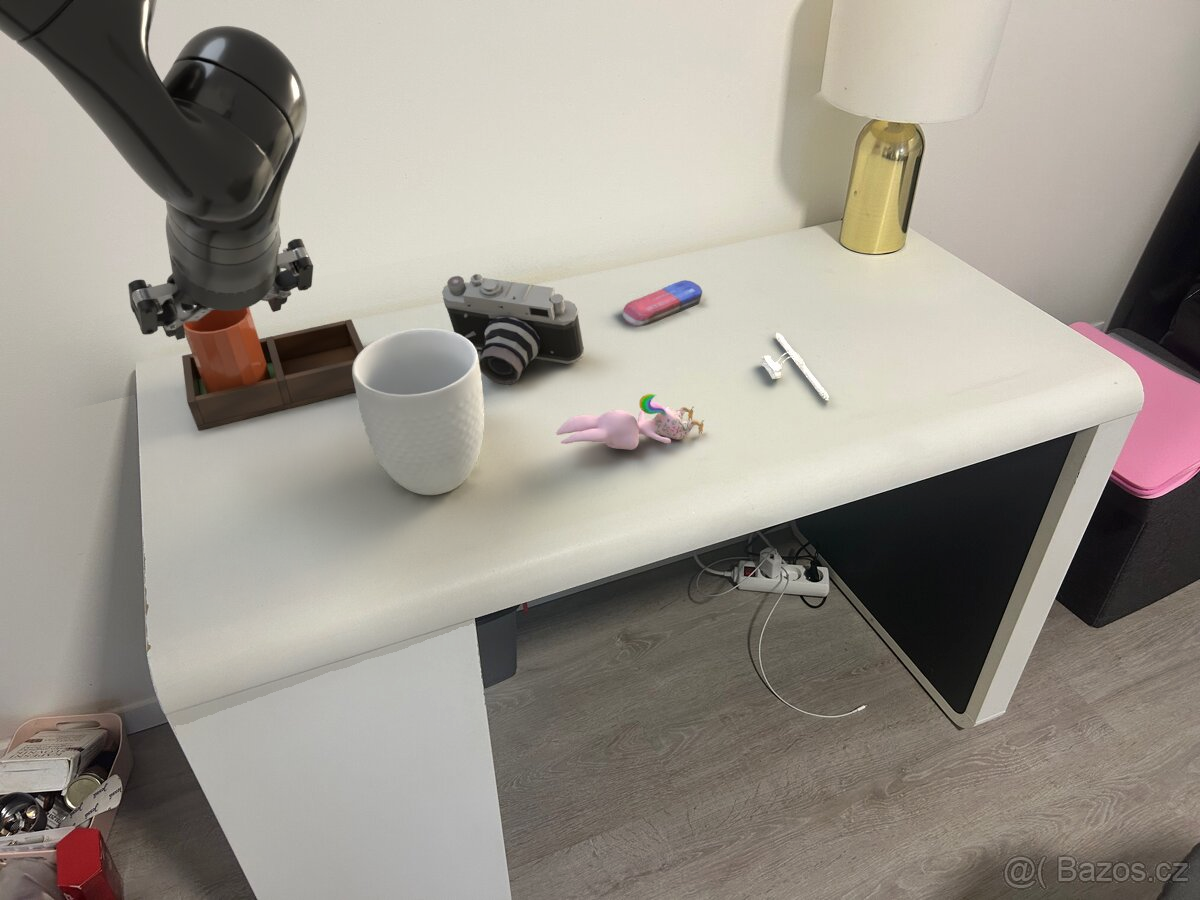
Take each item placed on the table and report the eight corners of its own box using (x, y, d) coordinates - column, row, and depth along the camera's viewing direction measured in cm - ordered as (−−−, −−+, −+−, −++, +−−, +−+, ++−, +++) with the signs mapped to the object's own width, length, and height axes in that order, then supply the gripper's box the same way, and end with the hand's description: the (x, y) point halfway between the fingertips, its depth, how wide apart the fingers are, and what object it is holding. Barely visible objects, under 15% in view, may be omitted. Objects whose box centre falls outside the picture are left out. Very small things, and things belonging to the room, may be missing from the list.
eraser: (636, 331, 103) (637, 319, 102) (616, 317, 105) (616, 305, 104) (706, 301, 108) (707, 289, 106) (685, 289, 110) (686, 276, 109)
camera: (435, 381, 97) (412, 319, 89) (463, 327, 101) (443, 264, 93) (565, 403, 93) (553, 341, 85) (587, 346, 98) (578, 283, 90)
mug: (429, 408, 90) (411, 299, 82) (525, 428, 87) (516, 317, 79) (354, 498, 79) (325, 382, 71) (461, 523, 76) (442, 407, 68)
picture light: (830, 402, 90) (834, 386, 89) (793, 408, 90) (795, 392, 88) (778, 335, 101) (780, 320, 100) (744, 340, 100) (746, 325, 99)
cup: (211, 412, 89) (183, 338, 83) (206, 380, 93) (179, 308, 88) (276, 397, 91) (253, 324, 85) (267, 366, 95) (246, 295, 90)
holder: (198, 430, 88) (187, 402, 85) (192, 382, 94) (181, 355, 92) (375, 387, 93) (369, 359, 91) (357, 345, 100) (351, 318, 98)
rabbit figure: (680, 421, 90) (547, 433, 85) (692, 373, 87) (553, 383, 81) (706, 456, 86) (566, 471, 80) (719, 407, 82) (574, 419, 77)
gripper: (298, 175, 66) (285, 257, 80) (99, 220, 59) (125, 299, 74) (337, 264, 65) (317, 329, 80) (142, 318, 59) (159, 378, 74)
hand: (225, 315), depth 77 cm, fingers open, 8 cm apart
